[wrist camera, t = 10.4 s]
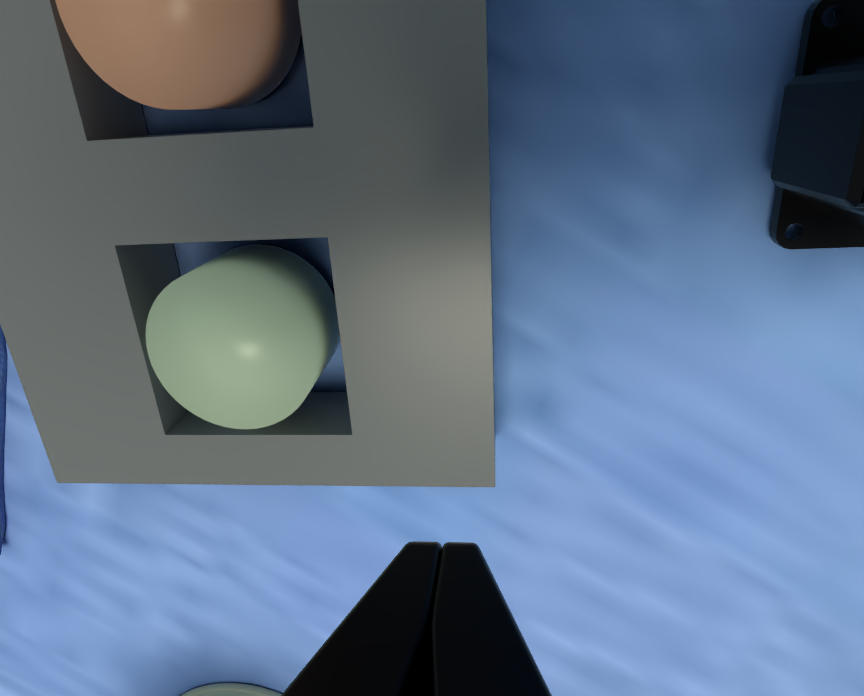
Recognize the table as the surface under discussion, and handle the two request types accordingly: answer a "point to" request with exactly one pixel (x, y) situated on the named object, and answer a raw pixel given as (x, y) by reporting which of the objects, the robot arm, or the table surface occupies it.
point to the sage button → (243, 336)
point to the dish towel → (2, 427)
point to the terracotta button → (186, 48)
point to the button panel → (259, 220)
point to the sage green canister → (230, 690)
